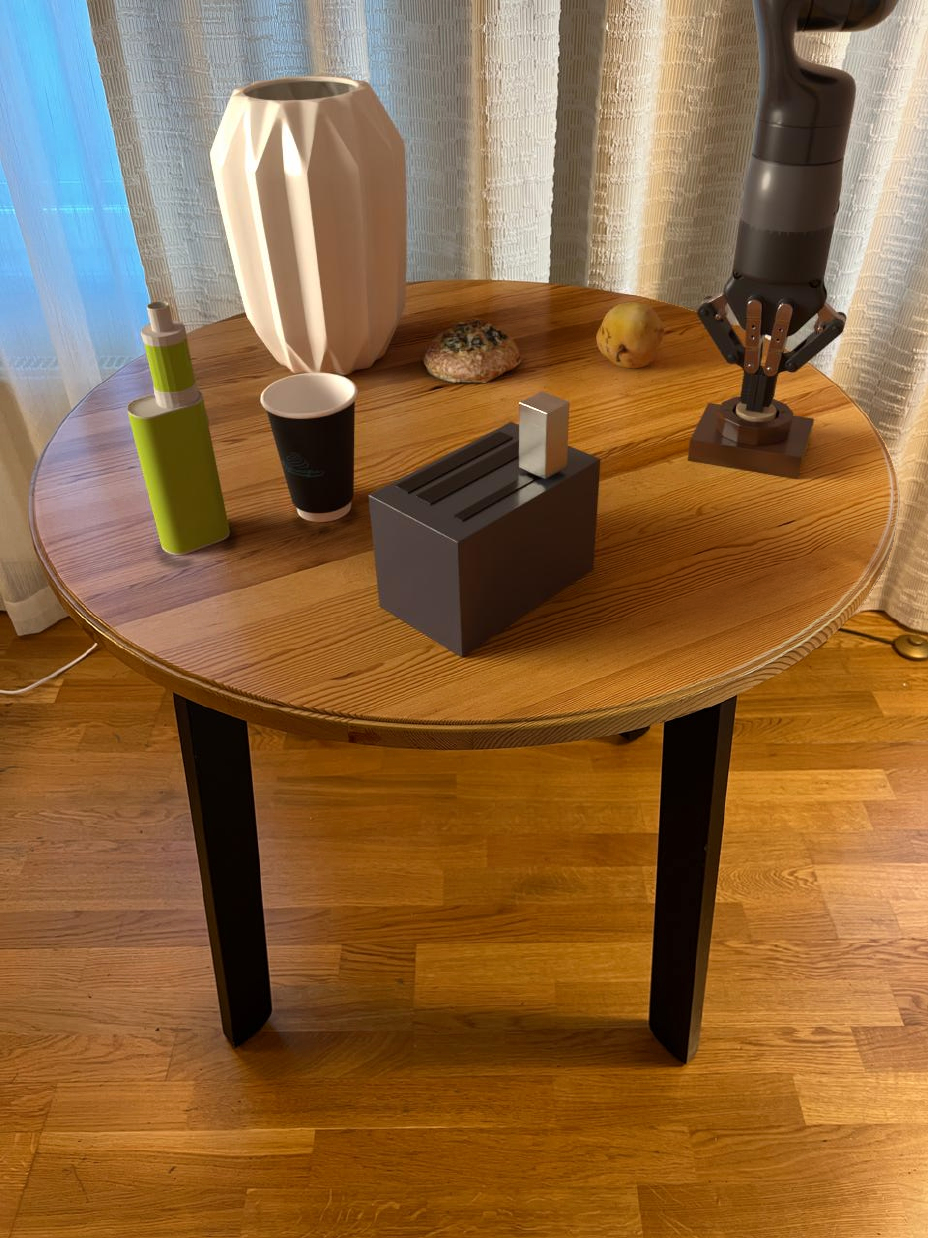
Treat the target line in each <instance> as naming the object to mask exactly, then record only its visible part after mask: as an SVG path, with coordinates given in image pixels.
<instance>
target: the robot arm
mask: <svg viewBox="0 0 928 1238" xmlns="http://www.w3.org/2000/svg"><path fill="white" fill-rule="evenodd" d="M899 1H900V0H751V3H752V6H753V7H752V9H753V16H754V22H755V23H754V24H755V30H756V37H757V46H758V47H757V48H758V59H759V92H758V93H759V94H758V95H759V96H758V105H757V114H756V121H755V129H754V135H753V141H752V151H751V154H750V160H749V165H748V168H747V171H746V175H745V178H744V184H743V189H742V191H743V192H742V198H741V206H740V213H739V221H738V227H737V234H736V240H735V241H736V242H735V249H734V256H733V262H732V269H731V274H730V277H729V278H727V281H726V283H725V284H724V287H723V290H722V291H720V292H719V293H717V294H715V295H713V296H712V295H708V296H705V297H704V298H703V300H702V302H701V303H700V305H699V307H698V308H697V310H696V315H697V317H698V318H699V320H700V322H701V323H702V325H703V326H704V328H705V330H706V331H707V333H708V335H709V336H710V338H711V339H712V341H713V343H714V344H715V346H716V348H717V349H718V350H719V352H720V354H721V355H722V357H723V358H724V361H725V362H726V363H727V364H730V365H737V366H739V367H740V368H741V369H742V371H743V377H742V384H741V389H740V400H741V404H746V411H753V412H760V413H762V411H763V409H764V407H768V408H769V406H770V405H771V403H772V401H773V399H775V395H776V388H777V383H778V377H779V374H781V373H785V372H788V373H792V374H793V373H796V372H798V371H799V370H800V369H801V368H802V367H804V366H805V365H806V364H808V362H810V361H811V360H812V359H813V358H814V357H815V356H817V355H818V354H819V353H820V352H821V351H823V350H824V349H825V348H826V347H828V346H829V345H830V344H831V343H833V342H834V341H835V339H837V338H838V337H840V335H842V333H843V332H844V329H845V327H846V324H847V318H848V317H847V314H845V312H843V311H836V310H835V309H834V308H833V307H832V305H830V304H829V302H828V301H827V300H828V299H827V298H828V291H827V288H826V284H825V276H826V272H827V271H826V270H827V265H828V262H829V261H828V260H829V255H830V250H831V244H832V239H833V235H834V234H833V233H834V229H835V223H836V219H837V214H838V213H839V210H840V205H841V201H840V198H841V193H842V187H843V169H844V161H845V156H846V155H845V154H846V150H847V146H848V141H849V134H850V130H851V129H850V128H851V123H852V118H853V114H854V108H855V103H856V95H857V84H856V81H855V78H854V77H853V76H852V75H851V74H850V73H849V72H847V71H845V70H843V69H839V68H837V67H833V66H829V65H825V64H820V63H816V62H812V61H810V60H806V59H804V58H802V57H801V56H799V54H798V53H797V51H796V50H797V49H796V45H795V34H799V33H858V32H863V31H864V32H865V31H867V30H870V29H872V28H875V27H876V26H878V25H880V24H881V23H882V22H884V21H885V20H886V19H887V18H889V16H890V15H891V14H892V13H893V12H894V10H895V9H896V6H897V5H898V3H899ZM729 308H730V310H731V312H732V314H733V316H734V317H735V319H736V321H737V323H738V325H739V326H740V327H741V329H742V330H743V331H745V337H744V340H745V341H744V343H743V342H742V339H740V337H739V335H738V333H737V332H736V330H735V328H734V326H733V325H732V324H731V322H730V320H729V319H728V317H727V316H728V315H729ZM816 315H817V318H816V319H815V322H814V324H813V331H812V332H811V333H810V334H809V335H807V336H806V337H805V339H803V340H802V341H801V342H799V344H797V345H796V346H795V347H794V348H793V349H792V350H791V351H786V352H785V349H786V345H787V342H788V339H789V337H792V336H794V335H796V333H798V332H799V331H800V330H801V329H802V328H803V327H805V325H806V324H807V323H808V322H809V321H810V320H812V319H813V318H814V317H815V316H816ZM766 336H768V337H770V340H769V345H768V347H767V353H766V356H765V362H764V365H762V360H763V359H764V358H763V357H764V349H765V348H764V347H765V338H766Z"/></svg>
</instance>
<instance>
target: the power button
mask: <svg viewBox="0 0 928 1238" xmlns="http://www.w3.org/2000/svg"><path fill="white" fill-rule="evenodd" d="M776 411H777V410H776V408H775V406H773V405H772V404H771V405H770V406H769V408H768V407H764V409H763V411H762V413H760V412H753V411H746V404H741V402H740V403H739V404H738V405H737V406H736V412H735V415H736V416H738V417H740V418H742V419H744V420H747V421H754V422H765V421H771V420H774V419H775V417H776Z"/></svg>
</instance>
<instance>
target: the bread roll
mask: <svg viewBox="0 0 928 1238" xmlns="http://www.w3.org/2000/svg"><path fill="white" fill-rule="evenodd" d="M422 357H423V358H422V360H423V364H424V366H425V367H426V370H427V373H428V374H430V375H431V376H433V377H435V378H436V379H439V380H443V381H446V382H449V383H455V384H456V383H483V384H486V383H488V382H491V381H492V380H493V379H496V378H498V377H500V376H502V375H503V374H504V373H506V372H508V371H511V370H515V368H517V366H519V365H520V364H521V361H522V360H523V355H521V354H520V351H519V347H518V346H517V344H516V342H515V341H514V340H513V339H512V338H511V337H510V335H509V336H508V334H507V333H505V332H504V331H503V330H502V329H500V328H495V327H494V326H493V325H492V323H490V322H488V321H486V322H485V323H483V324H482V323H481V320H480V319H478V318H474V319H473V320H471V321H469V322H468V321H467V322H465V321H460V322H458V323H457V324H456V325H453V326H452V327H449V328H448V329H446V330H444V331H440V332H438V333H436V334H434V336H432V338H431V339H430V340H429V341H428V343H427V344H426V345H425V349H424V350H423V355H422Z"/></svg>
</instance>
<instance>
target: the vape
mask: <svg viewBox="0 0 928 1238" xmlns="http://www.w3.org/2000/svg"><path fill="white" fill-rule="evenodd" d="M146 311H147V314H148V315H147V316H148V319H149V323H148V324H146V325H144V326H143V327H142V328H141V330H140V334H141V337H142V338H141V339H142V342H143V345H144V349H145V353H146V358H147V363H148V367H149V371H150V376H151V379H152V384H153V388H152V389H153V392H154V393H151V394H147V395H145V396H141V397H137V398H135V399H132V400H131V401H129V402H128V403H127V405H126V411H127V416H128V419H129V424H130V427H131V432H132V435H133V440H134V443H135V447H136V451H137V455H138V459H139V462H140V467H141V470H142V471H141V472H142V475H143V478H144V483H145V486H146V490H147V495H148V498H149V502H150V507H151V510H152V511H151V512H152V514H153V518H154V519H153V520H154V522H155V523H154V524H155V526H156V530H157V534H158V538H159V542H160V546H161V548H162V550H163V551H164V552H166V553H167V554H169V555H174V556H185V555H188V554H191V553H193V552H195V551H198V550H201V549H203V548H206V547H208V546H211V545H215V544H216V543H220V542H222V541H224V540H226V539H228V537H229V536H230V534H231V532H230V531H231V529H230V525H229V520H228V516H227V510H226V506H225V501H224V495H223V491H222V486H221V485H222V484H221V480H220V476H219V470H218V465H217V461H216V455H215V451H214V446H213V439H212V436H211V431H210V426H209V425H210V419H209V416H208V415H209V414H208V413H207V409H206V406H205V405H206V404H205V399H204V396H203V392H202V391H201V390H200V389H199V386H198V382H197V380H196V377H195V373H194V367H193V361H192V357H191V352H190V346H189V342H188V337H187V329H186V325H185V324H184V322H181V321H179V320H173V317H172V312H171V307H170V303H169V302H168V301H165V300H164V301H163V300H159V301H153V302H150V303H148V304H147V305H146Z"/></svg>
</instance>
